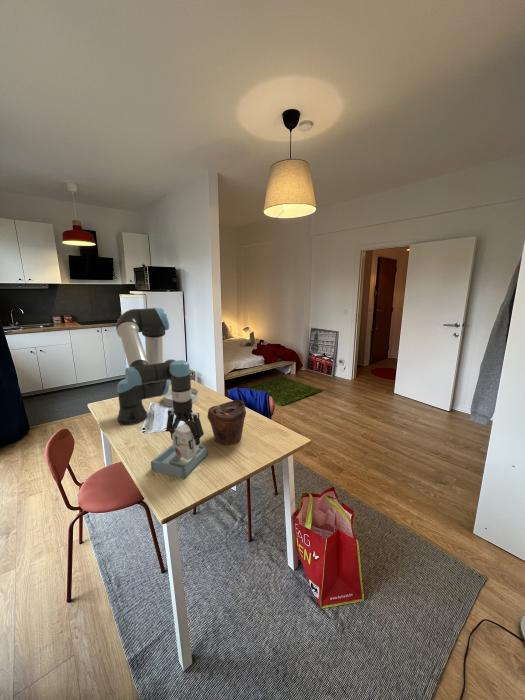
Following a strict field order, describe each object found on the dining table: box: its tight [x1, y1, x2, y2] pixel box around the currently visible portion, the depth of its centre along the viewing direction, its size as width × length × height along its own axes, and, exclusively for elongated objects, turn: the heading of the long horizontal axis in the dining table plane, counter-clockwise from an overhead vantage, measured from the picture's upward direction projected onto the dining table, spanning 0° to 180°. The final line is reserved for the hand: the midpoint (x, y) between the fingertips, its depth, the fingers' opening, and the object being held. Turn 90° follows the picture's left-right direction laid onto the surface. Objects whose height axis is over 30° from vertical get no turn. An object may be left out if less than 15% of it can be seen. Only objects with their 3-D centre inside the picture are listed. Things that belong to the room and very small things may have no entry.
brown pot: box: [207, 399, 247, 446], centre depth 140 cm, size 18×20×18 cm
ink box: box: [175, 423, 196, 460], centre depth 120 cm, size 9×5×12 cm, turn 50°
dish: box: [163, 387, 199, 408], centre depth 189 cm, size 22×22×5 cm
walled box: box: [150, 443, 209, 480], centre depth 123 cm, size 16×18×4 cm
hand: (186, 448), depth 121 cm, fingers closed on ink box, 9 cm apart
